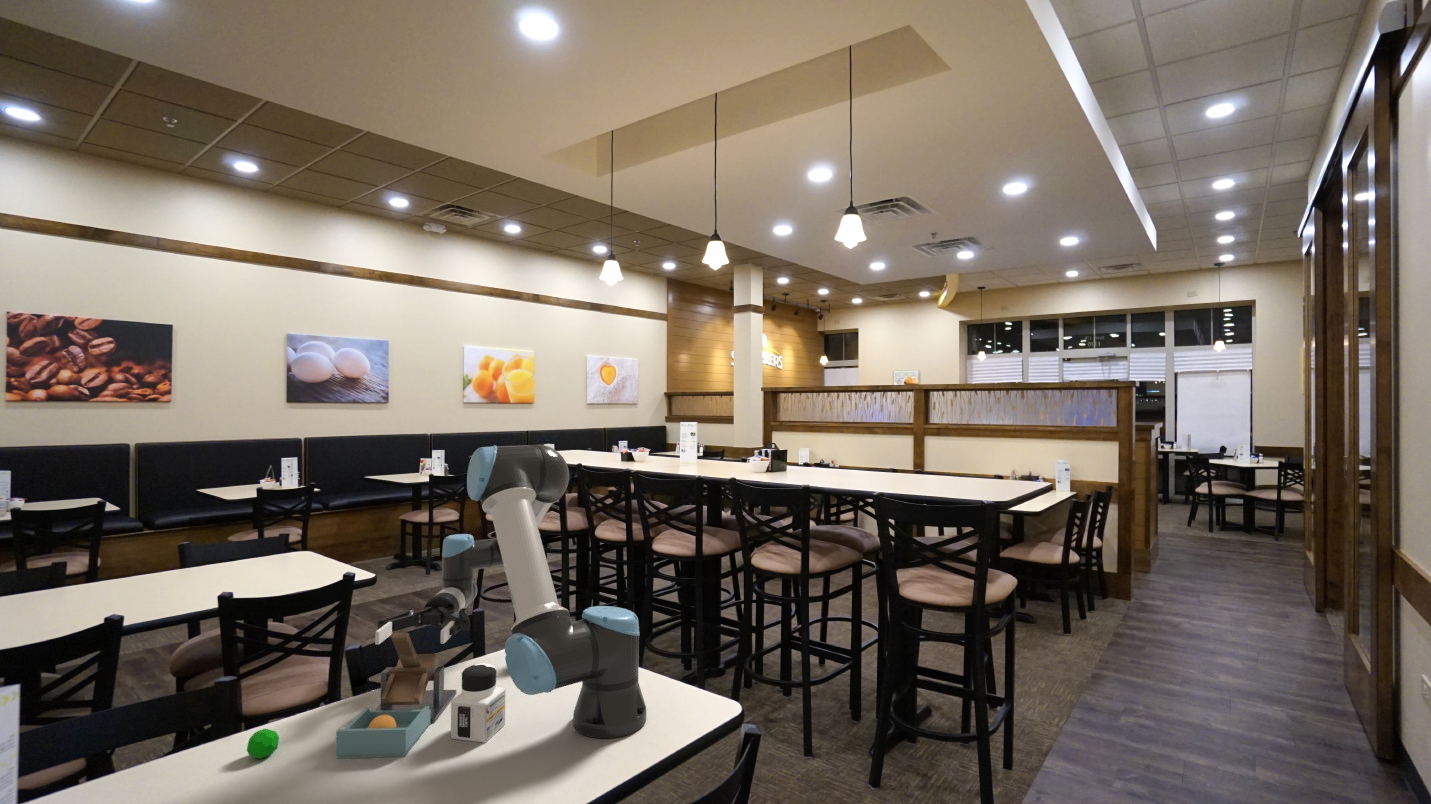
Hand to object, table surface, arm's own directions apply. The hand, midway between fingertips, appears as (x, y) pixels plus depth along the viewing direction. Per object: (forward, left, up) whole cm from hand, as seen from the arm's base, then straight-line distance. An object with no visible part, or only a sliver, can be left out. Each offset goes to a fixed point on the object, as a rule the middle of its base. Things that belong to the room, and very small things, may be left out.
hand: (409, 637), depth 141 cm
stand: (+2, -1, -16) cm, 16 cm away
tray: (-10, +5, -16) cm, 20 cm away
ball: (-12, +6, -13) cm, 19 cm away
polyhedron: (-6, +25, -16) cm, 31 cm away
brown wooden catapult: (+3, -1, -12) cm, 13 cm away
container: (-15, -12, -16) cm, 25 cm away
